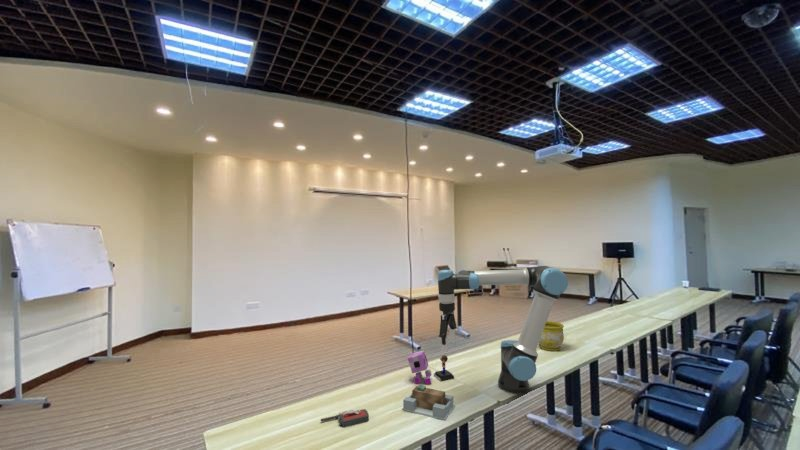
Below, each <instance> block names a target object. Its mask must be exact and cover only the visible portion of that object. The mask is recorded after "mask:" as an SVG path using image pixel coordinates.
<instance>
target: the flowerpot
mask: <svg viewBox="0 0 800 450" xmlns="http://www.w3.org/2000/svg"><path fill="white" fill-rule="evenodd" d="M564 339H565V335H564V324H563V323H561V322H557V321H552V320H547V321H546V324H545V327H544V330H543V332H542V335H541V338H540V340H539V343H538V346H537V347H539V348H540V349H542V350H544V351H549V352H557V351H560V349H561V348H562V345H563V343H564V341H565V340H564Z"/></svg>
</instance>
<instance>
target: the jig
mask: <svg viewBox="0 0 800 450" xmlns="http://www.w3.org/2000/svg"><path fill="white" fill-rule="evenodd" d="M445 401H446V405H441V404H437V403H435V404H434V406H433V411H432V410H428V409H424V408H419V407H417V399H414V398H412V393H410V395H408V396H405V397H404V398H403V400H402V403H403V404H402V405H403V406H402V408H401V409H402V410H403V411H405V412H410V413H415V414H418V415H423V416H426V417H431V418H434V417H435V419H438V418H440V419H439V420H442V419H443V421H446V420H447V418H448V417H449V415H450V414H451V412H452V411H453V410H454V408H455V407H456V406H455V404H454V395H450V394H446V393H445Z"/></svg>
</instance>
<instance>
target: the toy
mask: <svg viewBox="0 0 800 450" xmlns="http://www.w3.org/2000/svg"><path fill="white" fill-rule="evenodd" d="M407 361H408V365H409V367H410V371H411V373H412V374H415V376H414V378H413V380H414V383H415V384H419V383H421V382H422V378H423V374H422V372H423V371H424V375H425V377H424V383H425V385H429V384H432V378H431V377H432V370H431V369H428V367H429V362H428V359H427V355H426V353H425V350H424V349H423V350H420V351H416V352H413V353H410V354H409V355H408V357H407Z"/></svg>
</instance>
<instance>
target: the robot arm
mask: <svg viewBox="0 0 800 450" xmlns="http://www.w3.org/2000/svg"><path fill="white" fill-rule="evenodd" d="M568 284H569V282H568V277H567V275H566V274H565V273H564V272H563V271H561V270H560V269H559V268H556V267H554V266H553V267H552V266H548V265H539V266H531V267H529V266H528V267H526V266H525V267H524V268H522V269H495V270H492V269H491V270H490V269H488V270H487V269H486V270H464V269H462V270H459V271H458V272H457V273H454V271H453V269H441V270H438V272H437V287H438V295H437V297H438V301H439V303H438V306H439V307H438V308H439V311H440V312H442V314H440V323H439V325H440V326H439V333H438V337H439V338H440V341H441V342H440V343H441V352H449V349H448V348H449V347H448V346H449V344H448V336H447V335H448V332H449V342H450V343H453V344H454V343H455V344H456V343H457V342H456V338H457V337H456V330H457V329H458V328H457V322H456V317H455V314H454V313H455V310H456V306H455V305H456V303H455V301H456V300H455V290H456V291H457V290H470V291H471V290H477V289H479V288H480V286H499V285H501V286H505V285H507V286H508V285H509V286H510V285H512V286H515V285H524V286H525V287H533V289H532V291H533V294H534V296H533V299H532V302H531V305H530V307H529V310H528V313H527V315H526V318H525V321H524V323H523V326H522V329H521V332H520V334H519V337H518V340H512V339H507V340H502V341H501V343H500V363H501V365H500V367H501V368H500V373H499V377H498V380H497V387H498V388H499V389H500V390H502V391H504V392H507V393H509V394H510V393H511V394H524V393H527V392H529V391H530V383H529V380H532V379H533V378H534V376H535V375H536V373H537V364H536V362H537V360H538V356H539V354H538V352H537V348H538V347H539V346H538V344H539V340H540V338H541V335H542V332H543V330H544V327H545V324H546V321H548V318H549V316H550V313H551V309H552V307H553V304H554V303H555V302H557V301H559V298H560V297H561V296H560V295H562V294H563V293H564V292H566V290H567V288H568ZM448 329H449V331H448Z"/></svg>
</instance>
